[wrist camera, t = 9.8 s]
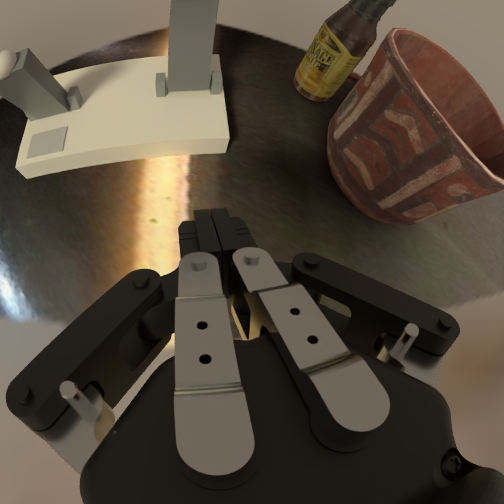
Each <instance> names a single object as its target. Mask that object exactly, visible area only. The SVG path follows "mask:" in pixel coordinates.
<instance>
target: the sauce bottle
mask: <svg viewBox="0 0 504 504" xmlns="http://www.w3.org/2000/svg"><path fill="white" fill-rule="evenodd" d="M395 2H396V0H351V1H349V3H348V4H346V5H345V6H344V7H342V8H341V9H340V10H338V11H337V12H335V13H334V14H333V15H332V16H330V17H329V18H328V19H326V20H325V22H324V23H323V25H322V26H321V28H320V30H319V32H318V33H317V35H316V37H315V39H314V40H313V42H312V44H311V46H310V47H309V49H308V51H307V53H306V54H305V56H304V58H303V60H302V62H301V63H300V65H299V67H298V69H297V71H296V74H295V77H294V86H295V88H296V89H297V90H298V92H299V93H301V94H302V96H304V97H305V98H307V99H310V100H313V101H316V102H324V101H327V100H328V99H330V98H331V97H332V96H333V95H334V94H335V93H336V92H337V90H338V89H339V88H340V86H341V85H342V84H343V83H344V81H345V80H346V79H347V77H348V76H349V75H350V74H351V72H352V71H353V70H354V68H355V67H356V66H357V65H358V63H359V62H360V61H361V60H362V59H363V57H364V56H365V54H366V52H367V51H368V49H369V48H370V47H371V46H372V45H373V43H374V42H375V40H376V35H377V34H376V27H377V23H378V21H380V18H381V16H382V15H383V14H384V13H385V11H386V10H387V9H388V8H389V7H391V6H393V4H394V3H395Z"/></svg>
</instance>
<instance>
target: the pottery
mask: <svg viewBox="0 0 504 504" xmlns="http://www.w3.org/2000/svg"><path fill="white" fill-rule="evenodd" d="M327 158H328V162H329V166H330V170H331V173H332V175H333V177H334V179H335V181H336V182H337V184H338V186H339V188H340V190H341V191H342V192H343V193H344V194H345V196H346V197H347V198H348V199H349V200H350V202H351V203H352V204H353V205H354V206H355V207H356V208H357V209H359V210H360V211H361V212H362V213H364V214H365V215H366V216H367V217H370V218H372V219H375V220H377V221H379V222H383V223H386V224H392V225H412V224H414V223H417V222H420V221H423V220H426V219H428V218H431V217H433V216H436V215H438V214H440V213H442V212H444V211H446V210H449V209H451V208H453V207H455V206H457V205H460V204H463V203H465V202H468V201H471V200H473V199H477V198H480V197H483V196H487V195H490V194H493V193H496V192H498V191H500V190H502V189H504V125H503V123H502V120H501V118H500V116H499V114H498V113H497V111H496V109H495V107H494V106H493V104H492V103H491V101H490V100H489V98H488V97H487V95H486V94H485V92H484V91H483V89H482V88H481V87H480V86H479V84H478V83H477V82H476V81H475V79H474V78H473V77H472V76H471V75H470V73H469V72H468V71H467V70H466V69H465V68H464V67H463V66H462V65H461V64H460V63H459V62H458V61H457V60H456V59H455V58H454V57H452V56H451V55H450V54H449V53H448V52H447V51H445V50H444V49H442V48H441V47H440V46H438V45H437V44H436V43H434V42H433V41H431V40H430V39H428V38H427V37H424V36H422V35H420V34H418V33H415V32H413V31H411V30H408V29H405V28H392V30H391V31H390V32H389V33H388V34H387V36H386V37H385V39H384V40H383V42H382V43H381V45H380V47H379V49H378V50H377V52H376V54H375V56H374V57H373V59H372V61H371V63H370V65H369V67H368V68H367V69H366V71H365V73H364V74H363V75H362V77H361V78H360V80H359V81H358V82H357V84H356V85H355V86H354V87H353V89H352V90H351V91H350V93H349V94H348V95H347V97H346V98H345V99H344V101H343V102H342V104H341V105H340V107H339V108H338V110H337V111H336V112H335V114H334V115H333V117H332V118H331V120H330V122H329V126H328V135H327Z"/></svg>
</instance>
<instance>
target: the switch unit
mask: <svg viewBox="0 0 504 504" xmlns="http://www.w3.org/2000/svg"><path fill="white" fill-rule="evenodd" d="M53 77H54V78H55V79H56V80H57V81H58V82H59V84H60V85H61V86H62V87H63V88H64V89H65V90H66V91H67V92H68V95H67V100H68V102H69V104H70V107H69V112H65V113H61V114H57V115H53V116H49V117H45V118H42V119H38V120H37V119H36V118H34V117H33V116H31V115H30V114H28V113H27V112H25V111H24V113H25V114H26V116H27V117H28V122H27V125H26V128H25V132H24V135H23V139H22V142H21V146H20V150H19V154H18V158H17V162H16V167H15V168H16V169H17V170H18V171H19V172H20V173H21V174H22V175H23V176H24V177H25V178H26V179H28V178H32V177H37V176H41V175H45V174H50V173H55V172H60V171H65V170H70V169H76V168H81V167H87V166H93V165H99V164H106V163H113V162H120V161H128V160H136V159H145V158H155V157H166V156H178V155H193V154H211V153H226V150H227V146H228V142H229V138H230V137H229V129H228V121H227V114H226V106H225V98H224V91H223V83H222V72H221V67H220V59H219V54H212V61H211V71H210V81H209V89H204V90H179V91H168V56H158V57H148V58H139V59H131V60H124V61H118V62H112V63H106V64H101V65H96V66H91V67H86V68H82V69H77V70H73V71H69V72H66V73H62V74H58V75H55V76H53Z"/></svg>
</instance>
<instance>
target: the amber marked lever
mask: <svg viewBox="0 0 504 504" xmlns="http://www.w3.org/2000/svg"><path fill="white" fill-rule="evenodd" d="M218 4H219V0H171V10H170V25H169V48H168V91H179V90H204V89H209V81H210V71H211V61H212V52H213V43H214V35H215V27H216V19H217V11H218Z"/></svg>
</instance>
